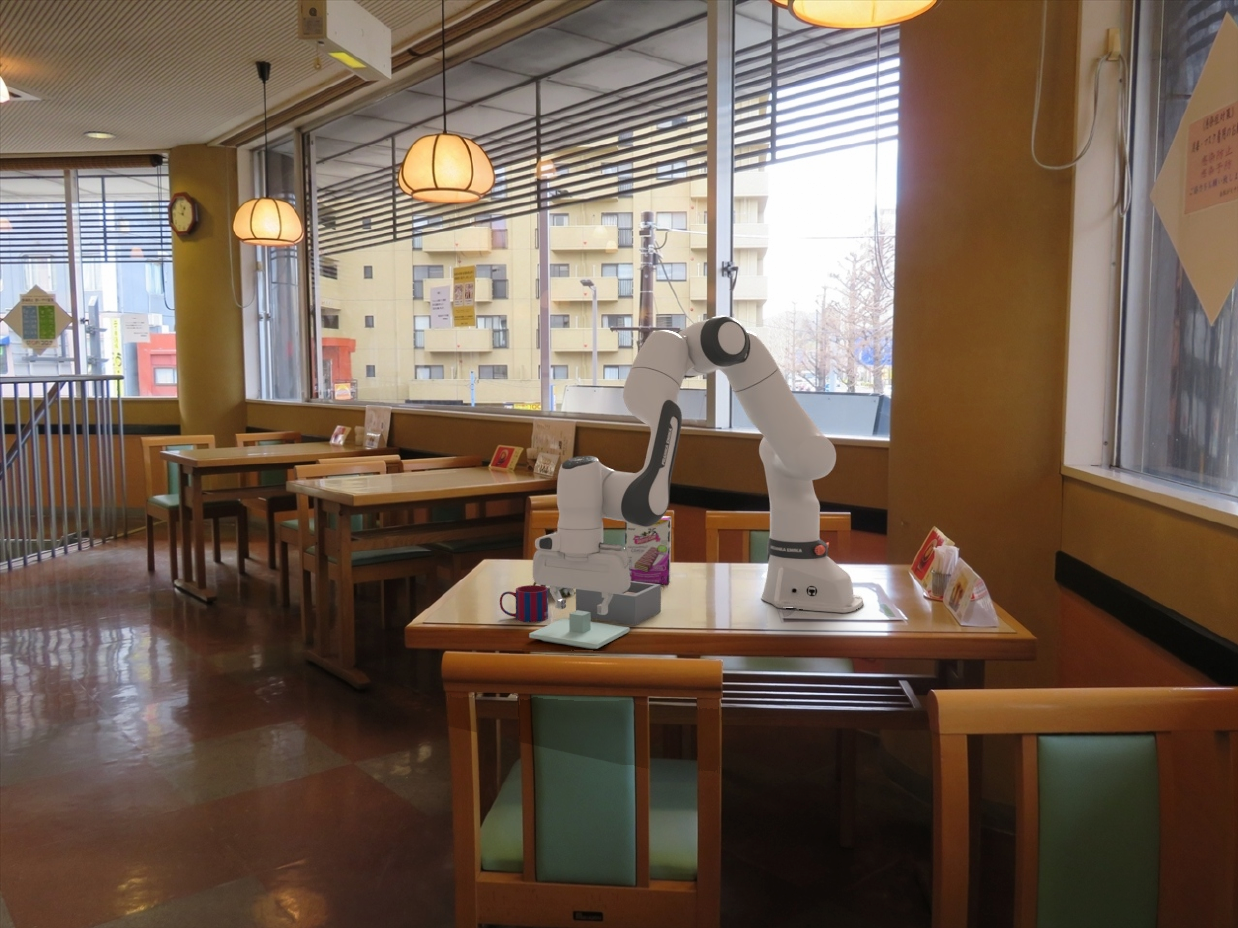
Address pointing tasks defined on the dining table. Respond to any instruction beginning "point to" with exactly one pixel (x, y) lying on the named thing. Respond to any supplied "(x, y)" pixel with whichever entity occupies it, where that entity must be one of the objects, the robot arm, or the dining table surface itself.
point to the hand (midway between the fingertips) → (581, 611)
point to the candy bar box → (649, 551)
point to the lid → (579, 631)
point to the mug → (529, 603)
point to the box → (623, 603)
